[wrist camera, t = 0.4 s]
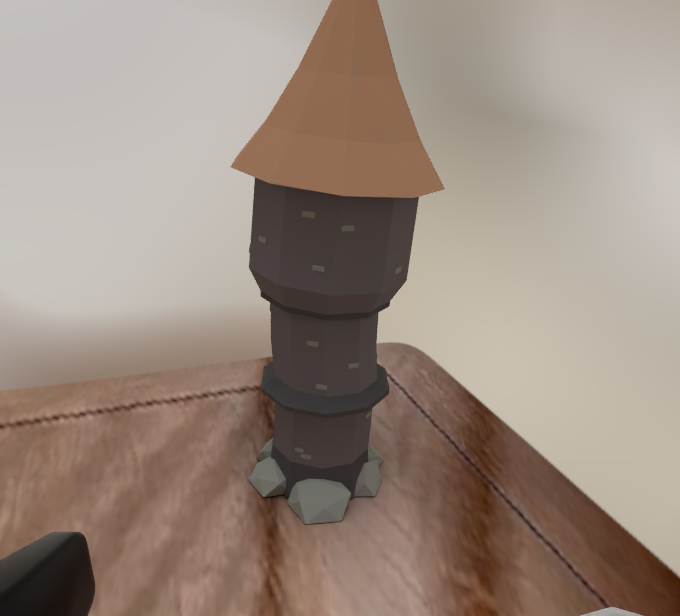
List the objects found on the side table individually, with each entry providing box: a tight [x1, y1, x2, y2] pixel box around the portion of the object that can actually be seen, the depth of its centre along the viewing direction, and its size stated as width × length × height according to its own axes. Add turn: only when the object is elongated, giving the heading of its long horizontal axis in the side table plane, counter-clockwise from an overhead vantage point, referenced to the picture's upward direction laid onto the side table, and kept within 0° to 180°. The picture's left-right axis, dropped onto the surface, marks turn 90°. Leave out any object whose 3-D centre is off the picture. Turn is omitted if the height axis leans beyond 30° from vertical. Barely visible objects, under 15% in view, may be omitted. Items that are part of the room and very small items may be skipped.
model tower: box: [231, 0, 445, 524], centre depth 30 cm, size 10×11×30 cm
